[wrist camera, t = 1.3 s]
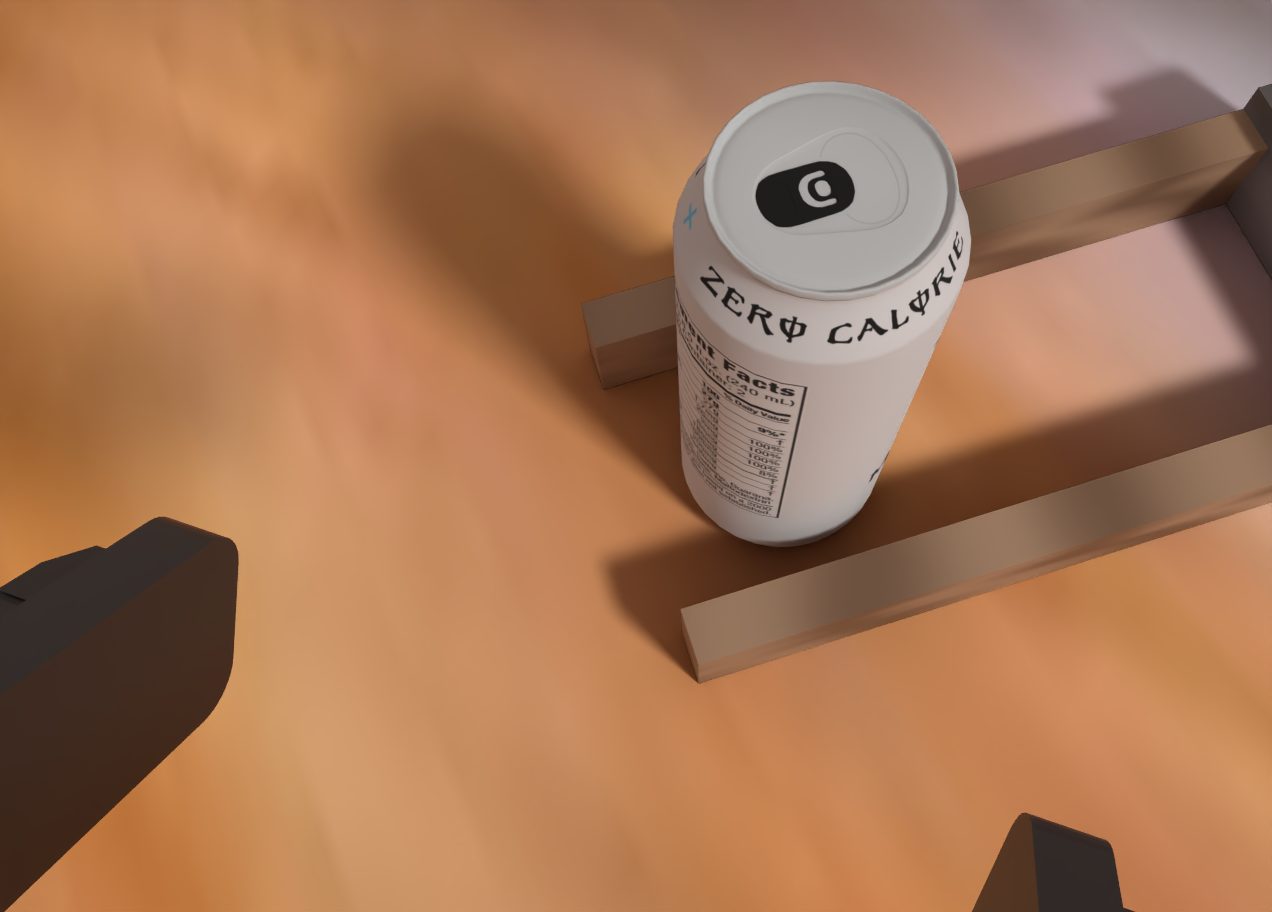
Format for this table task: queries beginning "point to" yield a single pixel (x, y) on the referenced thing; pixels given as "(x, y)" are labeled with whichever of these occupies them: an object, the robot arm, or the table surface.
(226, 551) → the robot arm
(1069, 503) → the channel
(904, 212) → the energy drink can
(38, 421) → the table surface
